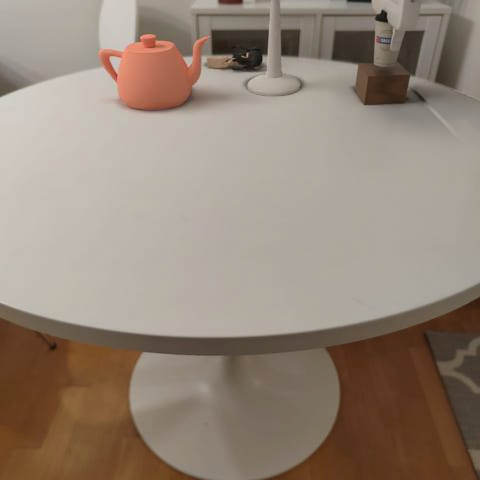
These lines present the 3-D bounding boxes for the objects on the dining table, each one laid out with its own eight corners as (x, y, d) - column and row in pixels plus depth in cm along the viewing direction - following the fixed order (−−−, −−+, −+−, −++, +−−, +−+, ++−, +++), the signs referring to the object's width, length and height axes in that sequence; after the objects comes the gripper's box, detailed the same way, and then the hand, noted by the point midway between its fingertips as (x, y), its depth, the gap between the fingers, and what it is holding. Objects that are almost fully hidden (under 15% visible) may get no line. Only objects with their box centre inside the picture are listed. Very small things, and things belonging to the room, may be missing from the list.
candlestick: (258, 76, 117) (257, -72, 97) (306, 80, 113) (315, -72, 94) (239, 93, 108) (234, -66, 89) (291, 98, 105) (298, -67, 85)
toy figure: (206, 74, 120) (263, 70, 119) (203, 48, 117) (262, 43, 116) (209, 70, 126) (263, 65, 125) (206, 44, 123) (261, 40, 122)
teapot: (216, 85, 113) (212, 24, 104) (212, 111, 100) (207, 44, 91) (116, 88, 114) (103, 27, 105) (99, 113, 101) (84, 47, 92)
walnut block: (392, 89, 107) (397, 61, 103) (404, 103, 100) (410, 74, 96) (354, 91, 107) (358, 63, 103) (364, 105, 100) (368, 76, 96)
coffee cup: (373, 57, 102) (381, 6, 96) (404, 61, 100) (415, 8, 93) (364, 66, 98) (371, 12, 91) (396, 70, 95) (406, 15, 89)
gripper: (437, -28, 80) (419, 57, 89) (401, -42, 95) (389, 32, 104) (401, -27, 79) (386, 59, 89) (371, -41, 95) (361, 33, 104)
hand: (387, 44), depth 96 cm, fingers closed on coffee cup, 7 cm apart
